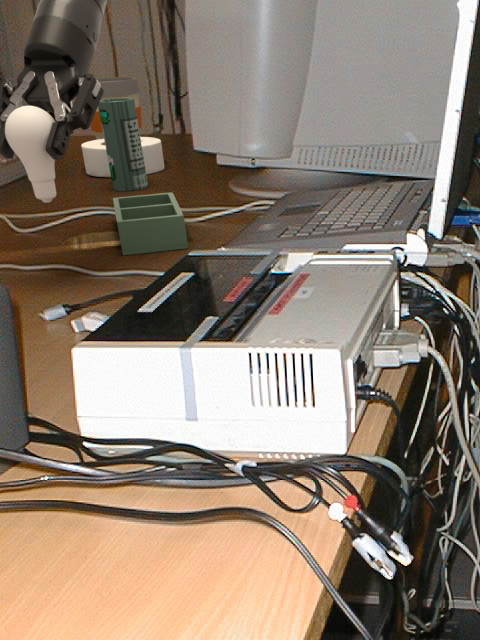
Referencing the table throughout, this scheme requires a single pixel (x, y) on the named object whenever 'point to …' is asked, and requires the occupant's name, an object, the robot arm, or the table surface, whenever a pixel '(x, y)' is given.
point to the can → (123, 144)
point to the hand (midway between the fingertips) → (28, 154)
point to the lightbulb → (33, 147)
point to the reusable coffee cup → (116, 89)
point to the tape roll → (98, 157)
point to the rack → (150, 223)
